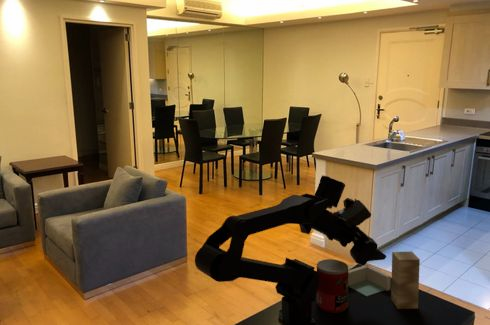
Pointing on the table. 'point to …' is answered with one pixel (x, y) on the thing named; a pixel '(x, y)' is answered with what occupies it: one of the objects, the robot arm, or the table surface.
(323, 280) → the canned food
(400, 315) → the table surface
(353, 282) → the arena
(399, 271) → the maple block
